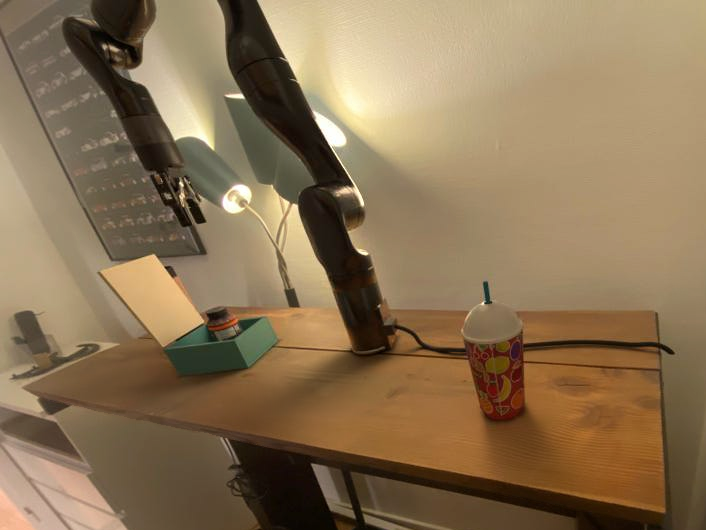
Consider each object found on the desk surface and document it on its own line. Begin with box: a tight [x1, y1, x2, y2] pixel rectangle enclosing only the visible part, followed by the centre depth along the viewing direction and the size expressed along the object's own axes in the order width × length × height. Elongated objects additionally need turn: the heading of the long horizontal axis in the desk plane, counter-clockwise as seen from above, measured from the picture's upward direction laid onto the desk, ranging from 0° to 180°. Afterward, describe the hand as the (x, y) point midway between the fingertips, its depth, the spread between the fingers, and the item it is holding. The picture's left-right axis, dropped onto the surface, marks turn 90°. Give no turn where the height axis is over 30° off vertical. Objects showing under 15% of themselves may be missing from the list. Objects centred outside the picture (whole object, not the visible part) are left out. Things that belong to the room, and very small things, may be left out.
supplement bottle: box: [204, 305, 243, 342], centre depth 86 cm, size 6×6×11 cm
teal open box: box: [163, 315, 279, 377], centre depth 88 cm, size 17×14×7 cm
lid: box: [96, 253, 205, 349], centre depth 83 cm, size 18×14×5 cm
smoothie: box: [460, 280, 526, 421], centre depth 52 cm, size 8×8×20 cm
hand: (195, 224), depth 85 cm, fingers open, 8 cm apart
